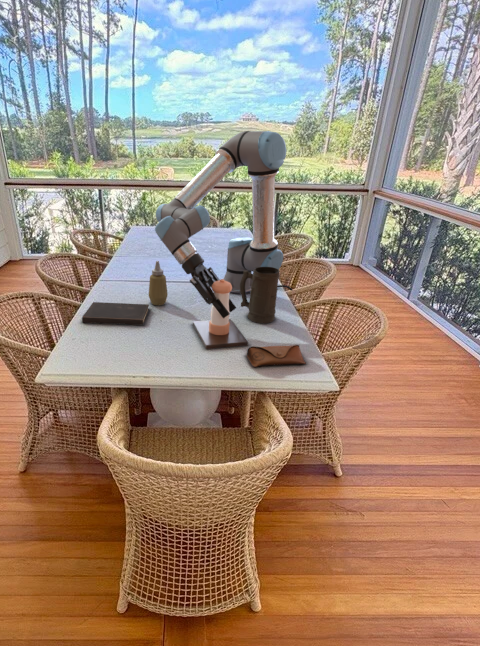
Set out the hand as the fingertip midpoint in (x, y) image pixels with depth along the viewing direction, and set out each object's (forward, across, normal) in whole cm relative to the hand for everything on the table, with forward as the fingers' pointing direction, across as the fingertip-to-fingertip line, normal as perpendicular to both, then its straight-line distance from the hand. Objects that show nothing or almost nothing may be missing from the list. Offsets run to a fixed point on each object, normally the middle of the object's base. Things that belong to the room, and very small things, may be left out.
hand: (229, 313), depth 137 cm
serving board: (+4, 0, -9) cm, 10 cm away
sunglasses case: (+21, +8, +8) cm, 24 cm away
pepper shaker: (+3, 0, -8) cm, 9 cm away
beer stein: (+9, -22, -5) cm, 24 cm away
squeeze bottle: (-21, -15, -34) cm, 42 cm away
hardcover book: (-25, +5, -39) cm, 46 cm away
